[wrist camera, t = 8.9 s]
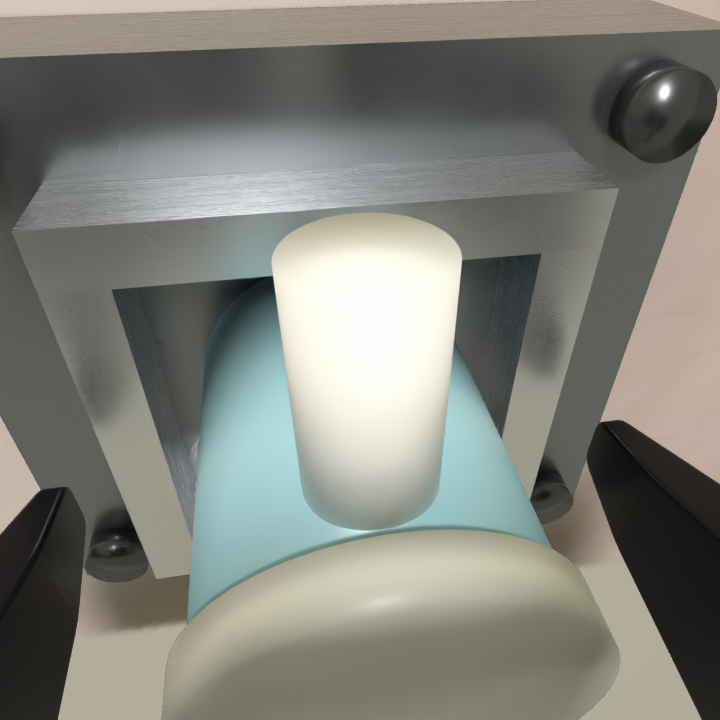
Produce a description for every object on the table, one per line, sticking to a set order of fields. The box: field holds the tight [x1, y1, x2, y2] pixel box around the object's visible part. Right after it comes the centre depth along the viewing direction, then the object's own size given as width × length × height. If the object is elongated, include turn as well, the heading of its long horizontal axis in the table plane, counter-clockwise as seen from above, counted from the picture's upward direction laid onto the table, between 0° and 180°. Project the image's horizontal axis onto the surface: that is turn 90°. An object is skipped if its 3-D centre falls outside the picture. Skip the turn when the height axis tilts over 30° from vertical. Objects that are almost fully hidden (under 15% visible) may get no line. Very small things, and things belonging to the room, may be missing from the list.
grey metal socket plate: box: [0, 0, 720, 582], centre depth 13 cm, size 13×12×4 cm
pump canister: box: [161, 212, 620, 720], centre depth 9 cm, size 5×8×7 cm
